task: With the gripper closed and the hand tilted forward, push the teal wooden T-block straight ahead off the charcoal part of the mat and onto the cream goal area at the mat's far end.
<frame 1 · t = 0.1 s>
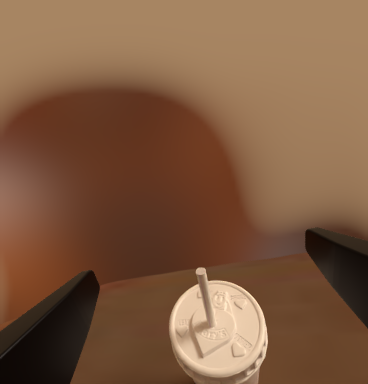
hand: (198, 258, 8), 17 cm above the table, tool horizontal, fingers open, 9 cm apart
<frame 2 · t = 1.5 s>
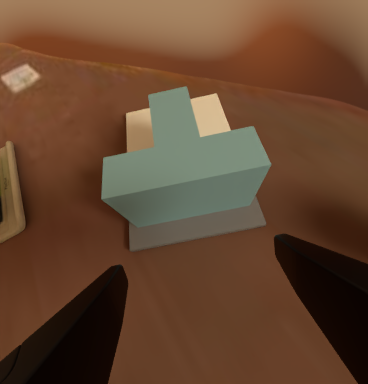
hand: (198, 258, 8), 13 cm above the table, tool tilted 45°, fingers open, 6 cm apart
t block: (185, 176, 23), point 1 cm above the table, touching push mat
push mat: (179, 144, 27), on the table
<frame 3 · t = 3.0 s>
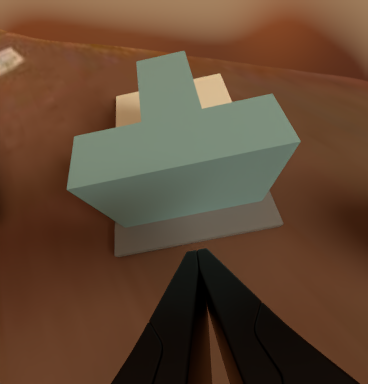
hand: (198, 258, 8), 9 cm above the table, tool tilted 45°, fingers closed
t block: (183, 166, 20), point 1 cm above the table, touching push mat
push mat: (176, 130, 23), on the table
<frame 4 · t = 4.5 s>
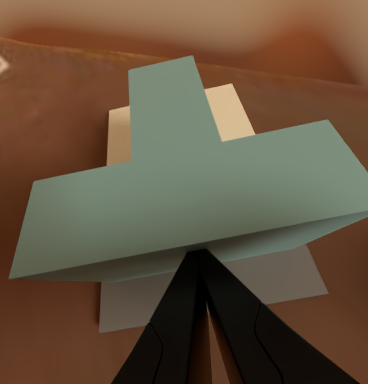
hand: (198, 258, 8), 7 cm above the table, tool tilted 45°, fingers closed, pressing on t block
t block: (188, 198, 16), point 1 cm above the table, touching gripper, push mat
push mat: (180, 154, 19), on the table
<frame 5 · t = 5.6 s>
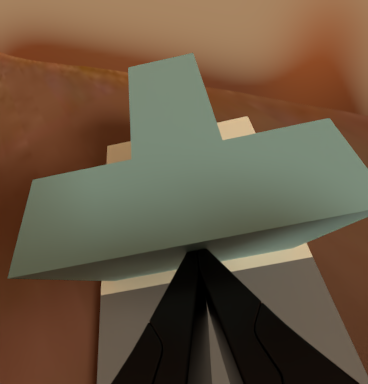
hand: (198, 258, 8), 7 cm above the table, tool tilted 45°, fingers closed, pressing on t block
t block: (188, 196, 16), point 1 cm above the table, touching gripper
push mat: (190, 204, 16), on the table
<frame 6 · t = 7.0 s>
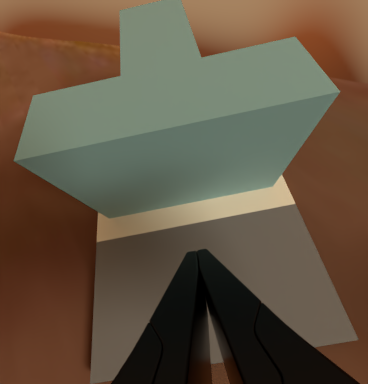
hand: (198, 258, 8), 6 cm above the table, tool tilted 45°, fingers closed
t block: (179, 147, 17), point 1 cm above the table, touching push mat
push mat: (182, 164, 17), on the table
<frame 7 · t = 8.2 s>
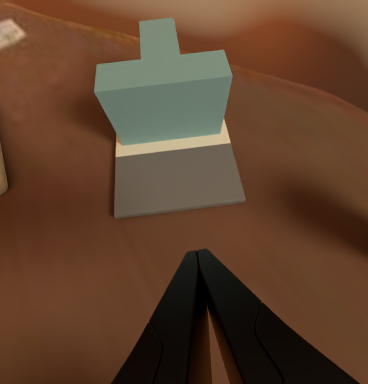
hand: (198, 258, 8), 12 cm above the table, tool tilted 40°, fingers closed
t block: (168, 109, 27), point 1 cm above the table, touching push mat
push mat: (169, 120, 27), on the table
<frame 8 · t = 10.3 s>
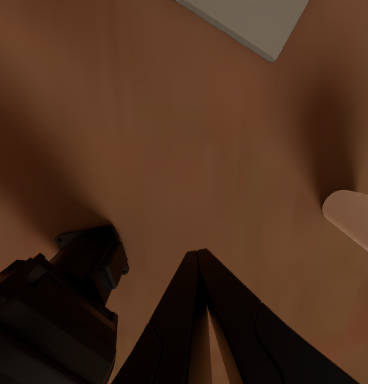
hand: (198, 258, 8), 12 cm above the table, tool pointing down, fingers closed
smoothie: (337, 205, 21), on the table
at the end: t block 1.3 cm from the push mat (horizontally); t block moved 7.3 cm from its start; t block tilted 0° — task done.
